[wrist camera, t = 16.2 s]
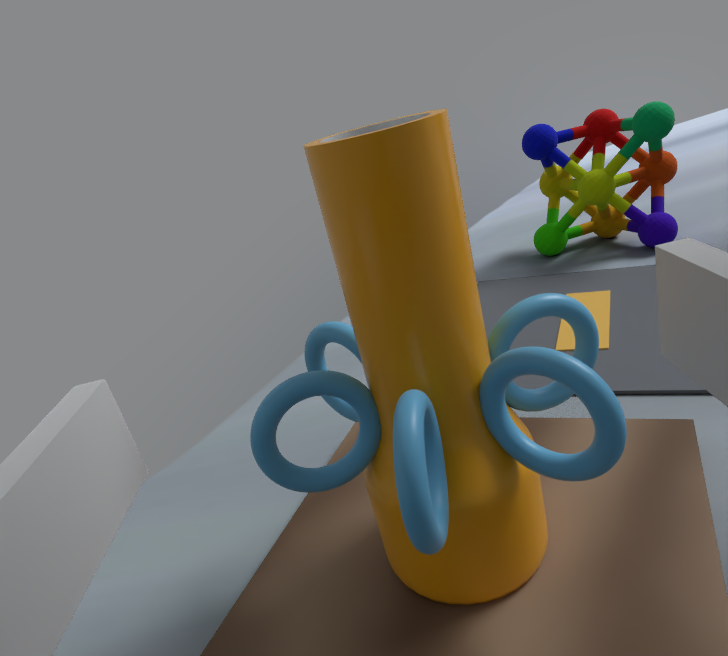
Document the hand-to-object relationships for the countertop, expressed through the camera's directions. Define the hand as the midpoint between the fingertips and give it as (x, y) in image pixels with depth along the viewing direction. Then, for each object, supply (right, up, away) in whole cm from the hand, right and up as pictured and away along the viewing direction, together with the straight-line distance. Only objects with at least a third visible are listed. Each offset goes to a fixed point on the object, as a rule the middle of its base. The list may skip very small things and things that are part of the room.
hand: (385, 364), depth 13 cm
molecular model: (+21, +8, +37) cm, 43 cm away
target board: (+4, -8, +8) cm, 12 cm away
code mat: (+14, +1, +24) cm, 28 cm away
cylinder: (+3, -7, +8) cm, 11 cm away
